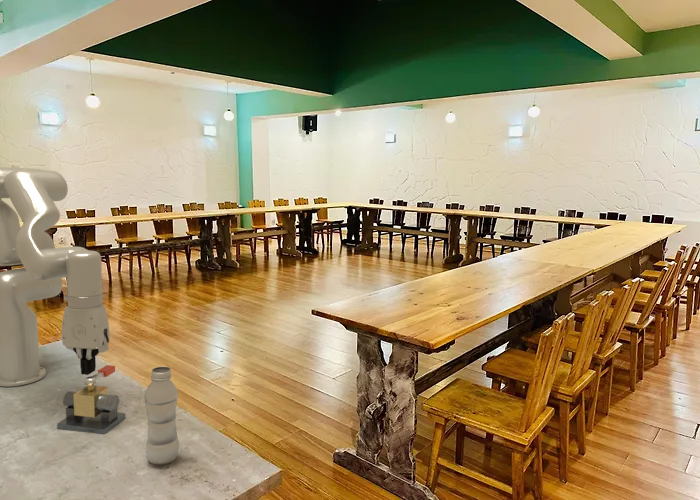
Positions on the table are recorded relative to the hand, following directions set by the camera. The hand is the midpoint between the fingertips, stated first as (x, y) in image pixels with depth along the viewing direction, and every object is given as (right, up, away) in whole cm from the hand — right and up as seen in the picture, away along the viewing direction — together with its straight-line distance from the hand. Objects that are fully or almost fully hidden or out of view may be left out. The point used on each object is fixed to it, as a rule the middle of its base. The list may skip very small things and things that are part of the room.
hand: (88, 372), depth 121 cm
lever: (+5, -1, -3) cm, 6 cm away
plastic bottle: (+26, -14, -19) cm, 35 cm away
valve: (+4, -11, -5) cm, 13 cm away
